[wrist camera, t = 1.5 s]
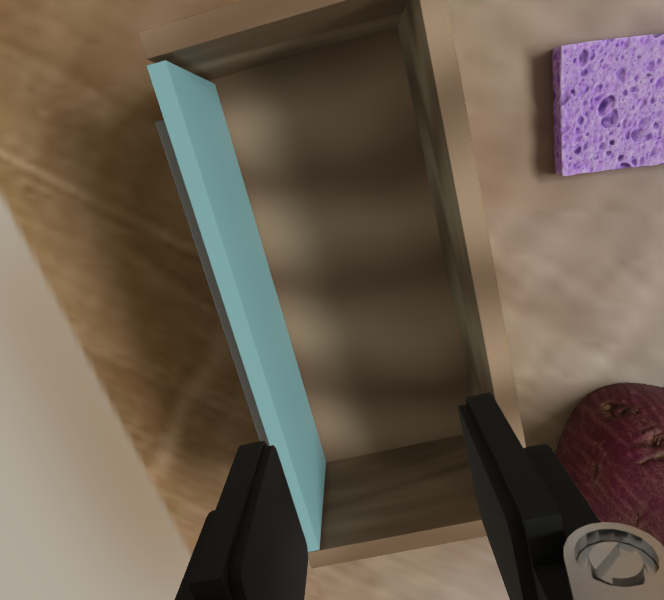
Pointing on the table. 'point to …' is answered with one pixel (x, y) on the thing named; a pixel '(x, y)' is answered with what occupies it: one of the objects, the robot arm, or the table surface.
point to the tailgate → (240, 281)
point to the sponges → (608, 104)
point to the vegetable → (619, 455)
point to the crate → (366, 246)
